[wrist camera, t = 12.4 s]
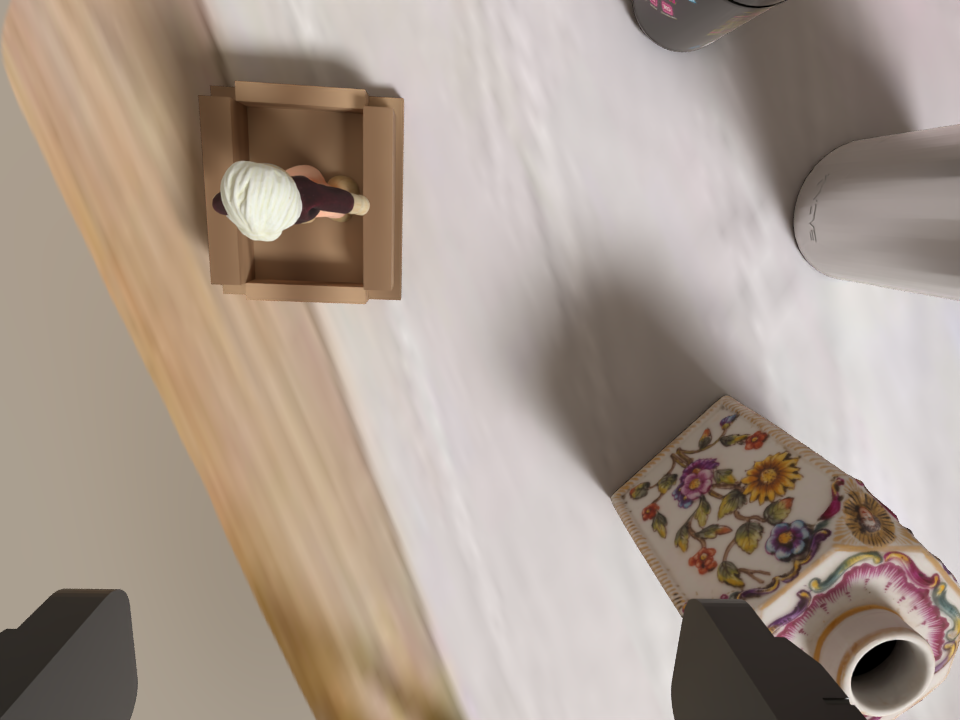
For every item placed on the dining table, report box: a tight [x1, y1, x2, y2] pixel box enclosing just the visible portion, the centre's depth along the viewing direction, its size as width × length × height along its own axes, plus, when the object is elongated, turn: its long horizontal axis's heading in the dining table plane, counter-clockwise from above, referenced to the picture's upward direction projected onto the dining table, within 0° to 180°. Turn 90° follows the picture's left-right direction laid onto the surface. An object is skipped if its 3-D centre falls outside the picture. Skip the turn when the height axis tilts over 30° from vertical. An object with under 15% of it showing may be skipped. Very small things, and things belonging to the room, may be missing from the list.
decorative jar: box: [611, 395, 960, 720], centre depth 35 cm, size 12×12×18 cm
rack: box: [198, 81, 404, 304], centre depth 34 cm, size 11×12×4 cm
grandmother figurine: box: [212, 161, 370, 241], centre depth 29 cm, size 8×4×13 cm, turn 101°
